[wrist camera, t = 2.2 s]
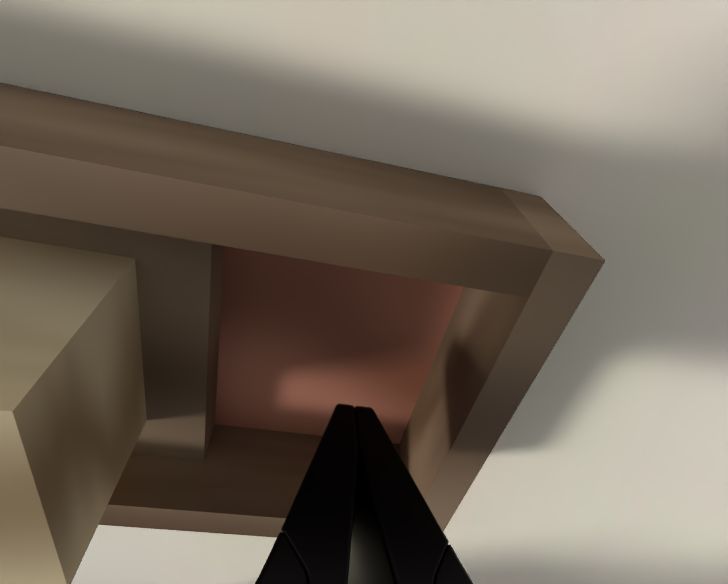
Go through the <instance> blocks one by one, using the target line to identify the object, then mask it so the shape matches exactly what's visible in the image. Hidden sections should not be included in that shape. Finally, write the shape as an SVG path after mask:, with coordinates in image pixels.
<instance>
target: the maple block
mask: <svg viewBox="0 0 728 584" xmlns="http://www.w3.org/2000/svg"><path fill="white" fill-rule="evenodd" d="M146 421H147V417H146V403H145V389H144V375H143V361H142V347H141V334H140V320H139V306H138V292H137V278H136V264H135V258H130V257H123V256H117V255H111V254H105V253H99V252H92V251H86V250H80V249H74V248H68V247H61V246H55V245H49V244H43V243H37V242H30V241H24V240H18V239H12V238H6V237H0V584H71V582H72V580H73V578H74V576H75V574H76V571H77V569H78V567H79V565H80V563H81V561H82V558H83V556H84V554H85V552H86V550H87V548H88V546H89V543H90V541H91V539H92V537H93V535H94V533H95V530H96V528H97V526H98V524H99V522H100V520H101V518H102V515H103V513H104V511H105V509H106V507H107V505H108V503H109V500H110V498H111V496H112V494H113V492H114V490H115V487H116V485H117V483H118V481H119V479H120V477H121V475H122V472H123V470H124V468H125V466H126V464H127V462H128V459H129V457H130V455H131V453H132V451H133V449H134V447H135V444H136V442H137V440H138V438H139V436H140V434H141V432H142V429H143V427H144V425H145V423H146Z"/></svg>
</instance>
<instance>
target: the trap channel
mask: <svg viewBox="0 0 728 584" xmlns="http://www.w3.org/2000/svg"><path fill="white" fill-rule="evenodd" d="M0 237H6V238H12V239H18V240H24V241H30V242H37V243H43V244H49V245H55V246H61V247H68V248H74V249H80V250H86V251H92V252H99V253H105V254H111V255H117V256H123V257H130V258H135V264H136V278H137V292H138V306H139V320H140V334H141V347H142V361H143V375H144V389H145V403H146V417H147V421H146V423H145V425H144V427H143V429H142V432H141V434H140V436H139V438H138V440H137V442H136V444H135V447H134V449H133V451H132V453H131V455H130V457H129V459H128V462H127V464H126V466H125V468H124V470H123V472H122V475H121V477H120V479H119V481H118V483H117V485H116V487H115V490H114V492H113V494H112V496H111V498H110V500H109V503H108V505H107V507H106V509H105V511H104V513H103V515H102V518H101V520H100V522H99V524H98V525H111V526H125V527H139V528H153V529H167V530H181V531H195V532H209V533H223V534H237V535H251V536H265V537H278V534H279V533H280V532H281V528H282V526H283V524H284V521H285V519H286V517H287V515H288V512H289V510H290V508H291V506H292V503H293V501H294V499H295V497H296V494H297V492H298V490H299V488H300V485H301V483H302V481H303V479H304V476H305V474H306V472H307V470H308V467H309V465H310V463H311V460H312V458H313V456H314V454H315V451H316V449H317V447H318V445H319V442H320V440H321V438H322V436H323V433H324V431H325V429H326V427H327V424H328V422H329V420H330V418H331V415H332V413H333V411H334V409H335V406H336V405H337V404H347V405H353V406H354V408H355V407H356V406H364V407H371V408H372V409H373V410H374V411H375V413H376V415H377V416H378V418H379V420H380V422H381V424H382V425H383V427H384V429H385V431H386V432H387V434H388V436H389V438H390V439H391V441H392V443H393V445H394V446H395V448H396V450H397V452H398V453H399V455H400V457H401V459H402V461H403V462H404V464H405V466H406V468H407V469H408V471H409V473H410V475H411V476H412V478H413V480H414V482H415V483H416V485H417V487H418V489H419V490H420V492H421V494H422V496H423V497H424V499H425V501H426V503H427V505H428V506H429V508H430V510H431V512H432V513H433V515H434V517H435V519H436V520H437V522H438V524H439V526H440V527H441V529H442V531H444V529H445V528H446V526H447V524H448V523H449V521H450V519H451V518H452V516H453V514H454V513H455V511H456V509H457V508H458V506H459V504H460V503H461V501H462V499H463V498H464V496H465V494H466V493H467V491H468V489H469V488H470V486H471V484H472V483H473V481H474V479H475V478H476V476H477V474H478V472H479V471H480V469H481V467H482V466H483V464H484V462H485V461H486V459H487V457H488V456H489V454H490V452H491V451H492V449H493V447H494V446H495V444H496V442H497V441H498V439H499V437H500V436H501V434H502V432H503V431H504V429H505V427H506V426H507V424H508V422H509V421H510V419H511V417H512V416H513V414H514V412H515V411H516V409H517V407H518V406H519V404H520V402H521V401H522V399H523V397H524V396H525V394H526V392H527V391H528V389H529V387H530V386H531V384H532V382H533V381H534V379H535V377H536V376H537V374H538V372H539V371H540V369H541V367H542V366H543V364H544V362H545V361H546V359H547V357H548V356H549V354H550V352H551V351H552V349H553V347H554V345H555V344H556V342H557V340H558V339H559V337H560V335H561V334H562V332H563V330H564V329H565V327H566V325H567V324H568V322H569V320H570V319H571V317H572V315H573V314H574V312H575V310H576V309H577V307H578V305H579V304H580V302H581V300H582V299H583V297H584V295H585V294H586V292H587V290H588V289H589V287H590V285H591V284H592V282H593V280H594V279H595V277H596V275H597V274H598V272H599V270H600V269H601V267H602V265H603V264H604V262H605V260H604V259H603V258H602V257H601V256H600V255H599V254H598V253H597V252H596V251H595V250H594V249H593V248H592V247H591V246H590V245H589V244H588V243H587V242H586V241H585V240H584V239H583V238H582V237H581V236H580V235H579V234H578V233H577V232H576V231H575V230H574V229H573V228H572V227H571V226H570V225H569V224H568V223H567V222H566V221H565V220H564V219H563V218H562V217H561V216H560V215H559V214H558V213H557V212H556V211H555V210H554V209H553V208H552V207H551V206H550V205H549V204H548V203H547V202H546V201H545V200H544V199H543V198H542V197H540V196H535V195H531V194H526V193H521V192H516V191H512V190H507V189H502V188H497V187H493V186H488V185H483V184H478V183H474V182H469V181H464V180H459V179H455V178H450V177H445V176H440V175H436V174H431V173H426V172H421V171H417V170H412V169H407V168H402V167H398V166H393V165H388V164H383V163H379V162H374V161H369V160H364V159H360V158H355V157H350V156H345V155H341V154H336V153H331V152H326V151H322V150H317V149H312V148H307V147H303V146H298V145H293V144H288V143H284V142H279V141H274V140H269V139H265V138H260V137H255V136H250V135H246V134H241V133H236V132H231V131H227V130H222V129H217V128H212V127H208V126H203V125H198V124H193V123H189V122H184V121H179V120H174V119H170V118H165V117H160V116H155V115H151V114H146V113H141V112H136V111H132V110H127V109H122V108H117V107H113V106H108V105H103V104H98V103H94V102H89V101H84V100H79V99H75V98H70V97H65V96H60V95H56V94H51V93H46V92H41V91H37V90H32V89H27V88H22V87H18V86H13V85H8V84H3V83H0Z"/></svg>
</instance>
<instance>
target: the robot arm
mask: <svg viewBox="0 0 728 584" xmlns="http://www.w3.org/2000/svg"><path fill="white" fill-rule="evenodd" d="M447 545H448V540H447V538H446V536H445V534H444V533H443V531H442V529H441V527H440V526H439V524H438V522H437V520H436V519H435V517H434V515H433V513H432V512H431V510H430V508H429V506H428V505H427V503H426V501H425V499H424V497H423V496H422V494H421V492H420V490H419V489H418V487H417V485H416V483H415V482H414V480H413V478H412V476H411V475H410V473H409V471H408V469H407V468H406V466H405V464H404V462H403V461H402V459H401V457H400V455H399V453H398V452H397V450H396V448H395V446H394V445H393V443H392V441H391V439H390V438H389V436H388V434H387V432H386V431H385V429H384V427H383V425H382V424H381V422H380V420H379V418H378V416H377V415H376V413H375V411H374V410H373V409H372V408H371V407H364V406H356V407H355V408H354V406H353V405H347V404H337V405H336V406H335V409H334V411H333V413H332V415H331V418H330V420H329V422H328V424H327V427H326V429H325V431H324V433H323V436H322V438H321V440H320V442H319V445H318V447H317V449H316V451H315V454H314V456H313V458H312V460H311V463H310V465H309V467H308V470H307V472H306V474H305V476H304V479H303V481H302V483H301V485H300V488H299V490H298V492H297V494H296V497H295V499H294V501H293V503H292V506H291V508H290V510H289V512H288V515H287V517H286V519H285V521H284V524H283V526H282V528H281V532H280V533H279V534H278V537H277V539H276V541H275V543H274V546H273V548H272V550H271V552H270V554H269V557H268V559H267V561H266V563H265V565H264V567H263V569H262V571H261V573H260V575H259V577H258V579H257V581H256V583H255V584H473V583H472V581H471V579H470V578H469V576H468V574H467V573H466V571H465V569H464V568H463V566H462V564H461V563H460V561H459V559H458V557H457V555H456V554H455V552H454V550H453V548H452V547H451V545H448V546H447Z"/></svg>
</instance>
